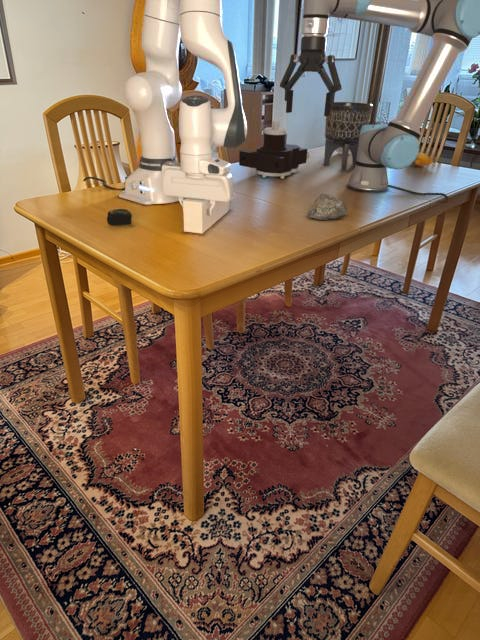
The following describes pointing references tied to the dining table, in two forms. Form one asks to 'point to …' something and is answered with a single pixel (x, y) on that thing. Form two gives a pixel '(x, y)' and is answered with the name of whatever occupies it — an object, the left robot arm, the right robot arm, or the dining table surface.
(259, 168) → the mechanical component
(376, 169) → the right robot arm
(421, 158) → the toy
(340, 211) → the rock
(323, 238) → the dining table surface
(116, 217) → the tape measure
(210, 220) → the bar
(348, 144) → the planter
